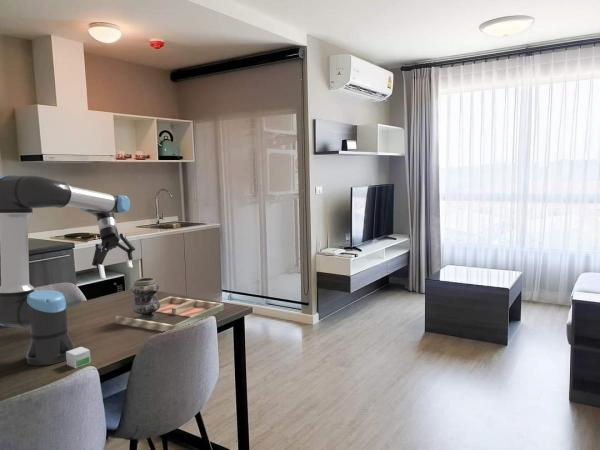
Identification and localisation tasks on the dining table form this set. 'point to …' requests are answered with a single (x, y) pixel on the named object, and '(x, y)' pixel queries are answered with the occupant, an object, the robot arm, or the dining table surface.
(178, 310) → the trap box
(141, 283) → the apothecary jar
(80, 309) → the dining table surface
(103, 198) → the robot arm
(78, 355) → the small box
